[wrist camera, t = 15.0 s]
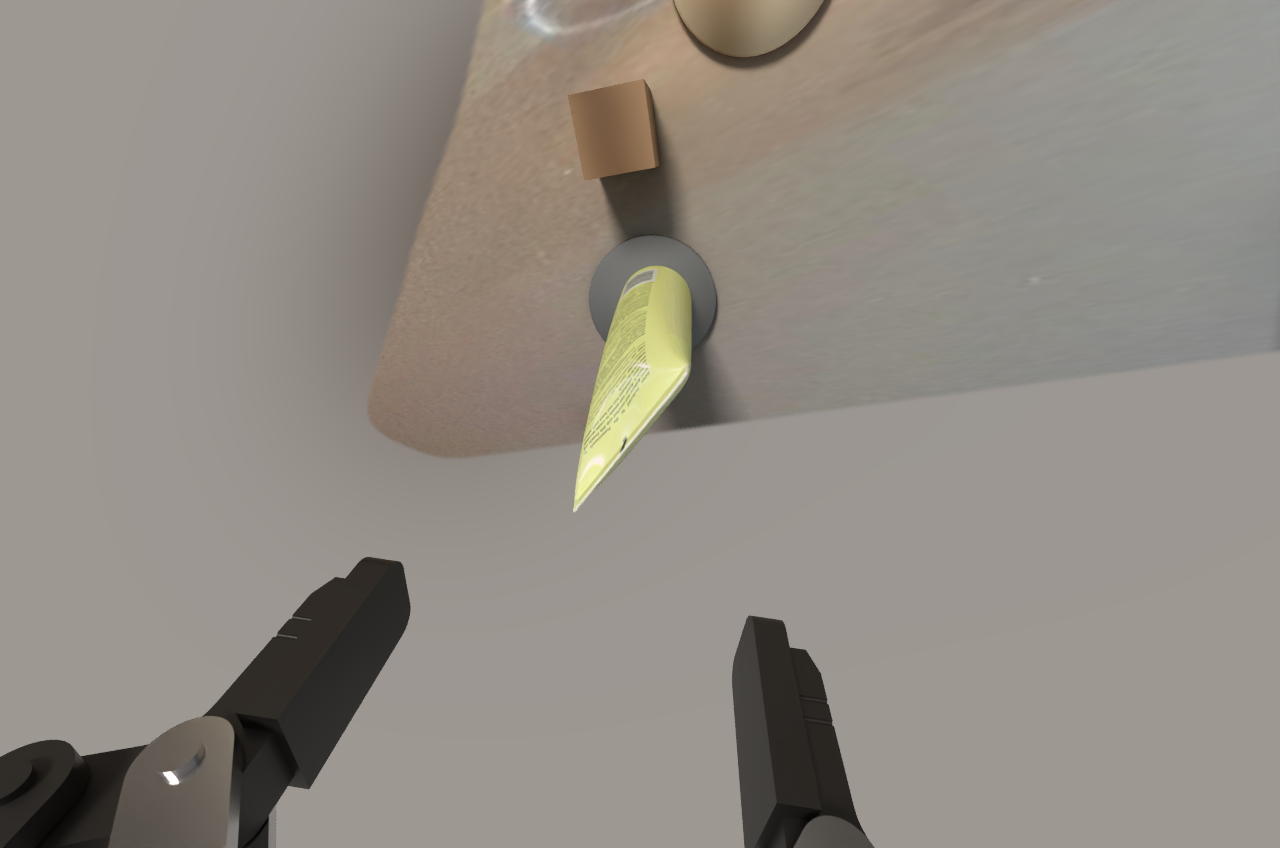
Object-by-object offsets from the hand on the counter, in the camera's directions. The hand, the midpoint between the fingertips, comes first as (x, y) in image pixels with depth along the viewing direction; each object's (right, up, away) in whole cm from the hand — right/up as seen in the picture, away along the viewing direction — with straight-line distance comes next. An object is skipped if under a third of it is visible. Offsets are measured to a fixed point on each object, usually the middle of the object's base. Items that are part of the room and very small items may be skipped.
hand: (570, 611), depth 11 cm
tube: (+3, +13, +23) cm, 27 cm away
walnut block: (+1, +22, +19) cm, 29 cm away
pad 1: (+3, +13, +24) cm, 27 cm away
